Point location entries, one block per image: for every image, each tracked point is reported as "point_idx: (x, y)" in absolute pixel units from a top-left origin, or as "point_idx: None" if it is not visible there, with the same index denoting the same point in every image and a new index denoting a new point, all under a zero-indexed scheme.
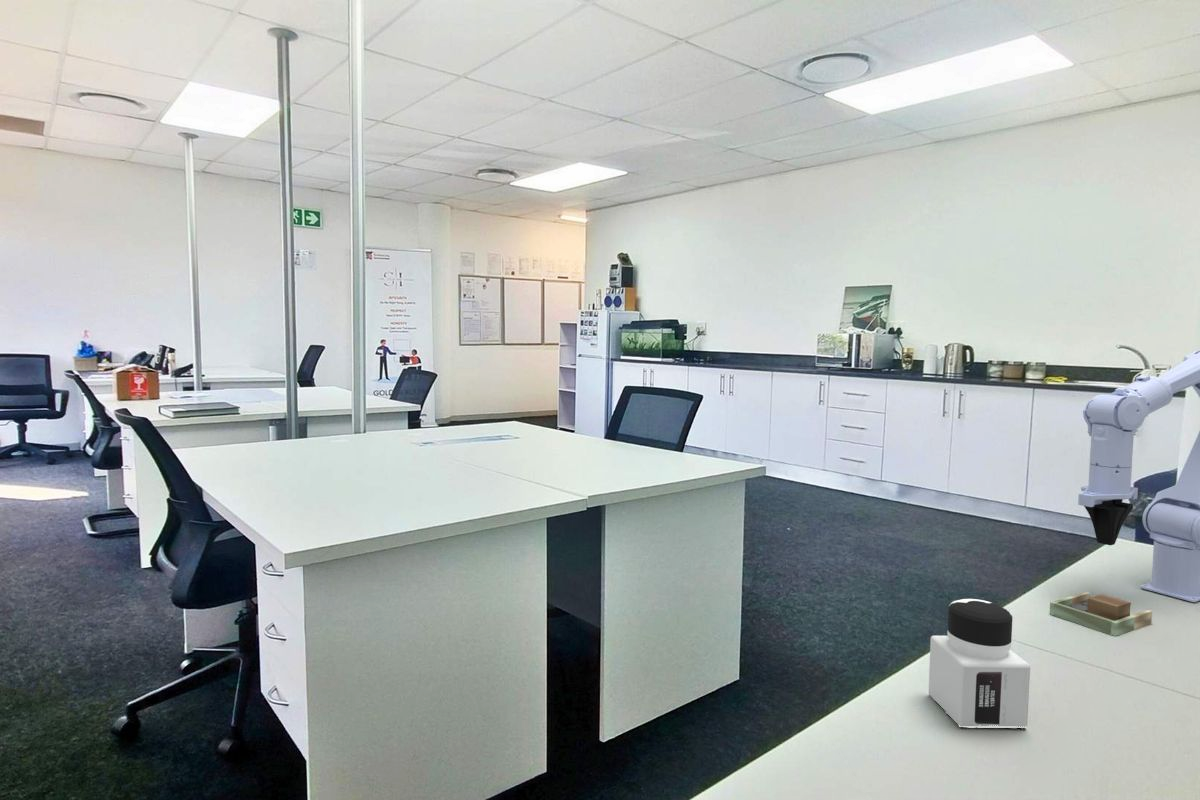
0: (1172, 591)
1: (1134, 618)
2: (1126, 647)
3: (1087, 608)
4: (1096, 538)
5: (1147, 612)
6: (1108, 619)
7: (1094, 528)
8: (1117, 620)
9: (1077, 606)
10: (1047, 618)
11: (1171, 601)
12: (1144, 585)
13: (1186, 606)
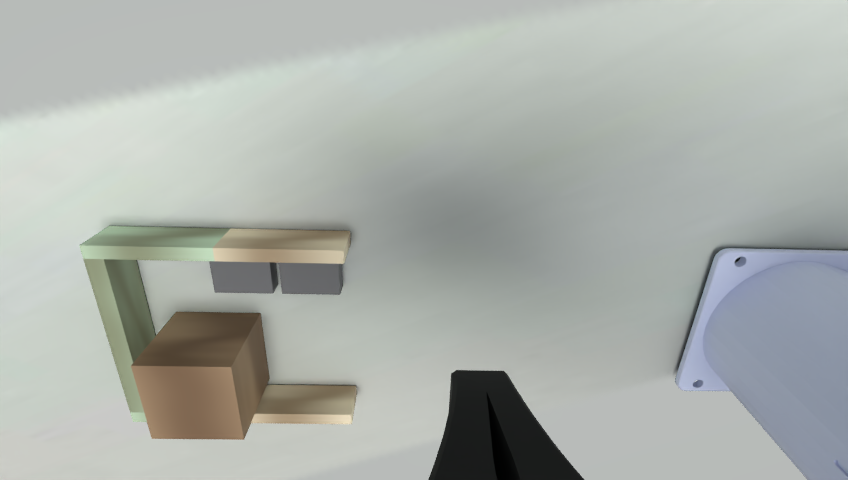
0: (707, 343)
1: None
2: (113, 429)
3: (153, 340)
4: (456, 383)
5: (325, 422)
6: (139, 401)
7: (445, 436)
8: None
9: (232, 263)
10: (68, 241)
11: (640, 346)
12: (743, 257)
13: (621, 381)
